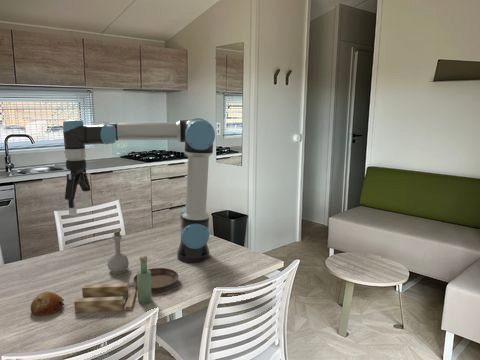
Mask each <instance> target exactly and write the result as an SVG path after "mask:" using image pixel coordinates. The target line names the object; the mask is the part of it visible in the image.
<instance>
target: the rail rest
mask: <svg viewBox="0 0 480 360" xmlns="http://www.w3.org/2000/svg"><path fill="white" fill-rule="evenodd" d="M81 289H82V290H81V291H82V297H79V298H75V300H74V302H73V303H74V304H73V305H74V313H75V314H76V313H92V312H93V313H94V312H95V313H96V312H111V311H112V312H116V311H117V312H119V311H123V310H124V309H125V311H132V310H133V309H132V308H133V305H134V303H135V299H136V295H137V289H130V291H129V284H128V283H125V282H123V283H104V284H103V283H102V284H100V283H98V284H83V286H82V288H81ZM127 297H128V298H127ZM124 306H125V307H124Z"/></svg>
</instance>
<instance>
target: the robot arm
mask: <svg viewBox="0 0 480 360" xmlns="http://www.w3.org/2000/svg"><path fill="white" fill-rule="evenodd" d="M62 124H63V125H62V133H63V142H64V144H63V145H64V150H63V153H64V154H65V155H64V157H65V159H66V160H65V168H66V170H68V171H70V173H67V174H66V185H65V195H64V199H65V201H66V200H67V205H68V206H67V207H68V215H69V217H70V216H71V217H74V216H78V215H77V214H78V213H77V201H76V198H75V197H76V193H77V188H78V185H79V188H80V189H81V191H80V193H81V194H80V197H81V207H84V208H85V207H90V199H89V191H91V185H90V181H89V178H88V174H87V160H86V158H87V156H86V155H87V154H86V153H87V152H86V145H110V144H111V145H113V144H115V143H117V142H116V141H178V142H179V143H184V153H185V154H186V155H187V172H186V174H187V176H186V194H185V195H186V197H185V208H183V209H181V210H180V215H179V217H180V218H179V220H180V222H179V223H180V243H179V246H178V249H177V254H176V256H177V257H176V258H177V260H179V261H181V262H184V263H189V264H190V263H193V264H194V263H195V264H196V263H200V262H205V261H206V260H208V259H210V254H211V253H210V248H209V246H208V241H209V240H210V236H211V235H210V231H209V230H210V229H209V226H210V224H209V223H210V215H209V214H208V212H207V198H208V195H207V194H208V181H209V180H208V179H209V163H210V162H209V160H210V159H209V158H210V156H212V154H213V152H214V151H213V150H214V142H215V139H216V131H215V129H214V126H213V125H212V124H211V123H210V121H208V120H205V119H203V118H192V119H179V120H178V121H177V122H105V121H104V122H101V123H99V124H89V125H88V124H85V123H84V121H83V120H82V119H66V120H64V121H63V123H62Z"/></svg>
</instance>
